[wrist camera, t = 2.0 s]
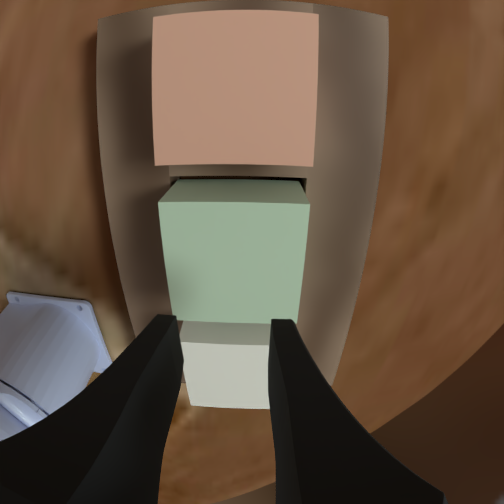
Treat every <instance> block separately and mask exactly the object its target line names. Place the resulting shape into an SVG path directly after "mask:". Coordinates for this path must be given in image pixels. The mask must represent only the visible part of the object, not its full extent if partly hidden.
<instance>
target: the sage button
mask: <svg viewBox="0 0 504 504" xmlns="http://www.w3.org/2000/svg"><path fill="white" fill-rule="evenodd" d="M158 208H159V218H160V228H161V236H162V245H163V253H164V260H165V268H166V275H167V282H168V289H169V295H170V301H171V308H172V314H173V315H176V317H177V320H184V321H203V322H226V323H265V324H271V319H292V320H293V321H294V322H295V324H297V318H298V311H299V303H300V295H301V287H302V279H303V270H304V261H305V252H306V243H307V233H308V222H309V212H310V203H309V201H308V199H307V197H306V195H305V192H304V190H303V188H302V186H301V184H300V182H299V181H285V180H248V179H184V180H177V181H176V183H175V184H174V185H173V186H172V187H171V188H170V189H169V190H168V191H167V192H166V194H165V195H164V196H163V197H162V198H161V199H160V200H159V202H158Z"/></svg>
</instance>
